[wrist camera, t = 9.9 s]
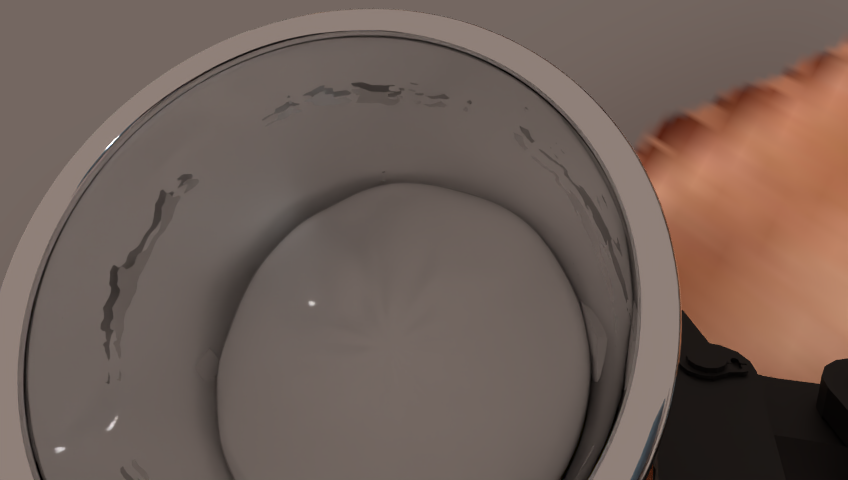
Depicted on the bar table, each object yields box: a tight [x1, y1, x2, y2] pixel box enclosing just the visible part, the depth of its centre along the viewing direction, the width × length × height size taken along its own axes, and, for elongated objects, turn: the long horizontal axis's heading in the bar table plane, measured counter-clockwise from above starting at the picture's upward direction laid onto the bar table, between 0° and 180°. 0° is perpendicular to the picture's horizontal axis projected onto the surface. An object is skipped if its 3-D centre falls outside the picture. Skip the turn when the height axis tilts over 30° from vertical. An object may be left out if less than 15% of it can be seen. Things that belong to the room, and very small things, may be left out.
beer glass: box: [0, 8, 682, 480], centre depth 12 cm, size 7×7×15 cm
